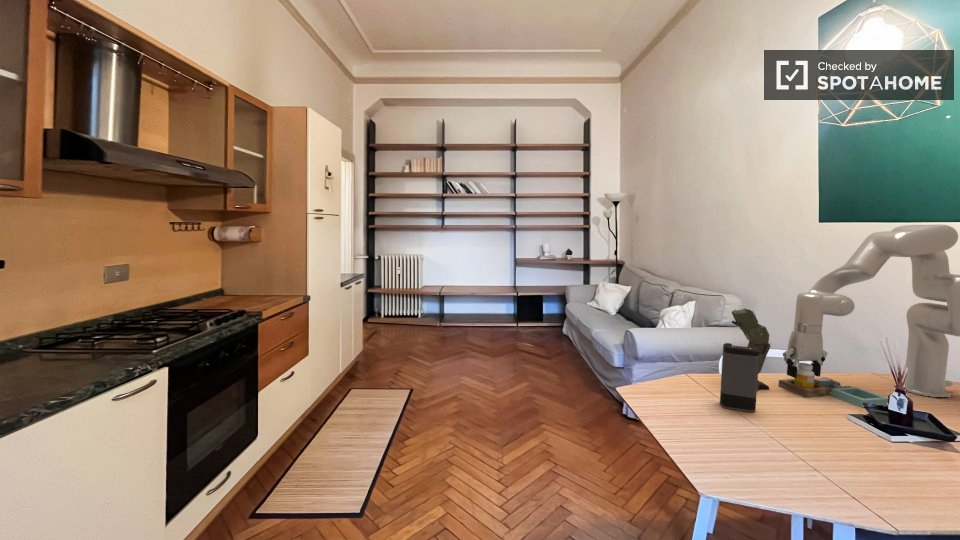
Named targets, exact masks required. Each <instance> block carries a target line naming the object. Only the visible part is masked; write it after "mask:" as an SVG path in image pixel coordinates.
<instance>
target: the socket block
mask: <svg viewBox="0 0 960 540" xmlns="http://www.w3.org/2000/svg"><path fill="white" fill-rule="evenodd" d="M794 379H795V378H789V379H787V378H786V379H778V388H781V389H783V390H785V391H788V392H790V393H793V394H795V395H798V396H800V397H803V398H806V399H807V398H819V397H831V392H830V389H829V388H827V387H824V386H821V385H819V384H816V383H814V388H806V389H805V388H802V387H800V386H797V385H795V384H794Z"/></svg>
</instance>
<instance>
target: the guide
mask: <svg viewBox="0 0 960 540" xmlns="http://www.w3.org/2000/svg"><path fill="white" fill-rule="evenodd" d="M848 387H853V386H851V385H841V382H840V381H837V387H827V388H829V389H830V393H831V389H834V388H848Z"/></svg>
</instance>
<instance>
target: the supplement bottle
mask: <svg viewBox="0 0 960 540" xmlns="http://www.w3.org/2000/svg"><path fill="white" fill-rule="evenodd" d="M812 369H813V366H812V365H811V363H807V362H806V363H805V362H799V363H798V364H797V377H796V378H793V379H794V384H795V385H797V386H800V387H802V388H805V389H806V388H814V379H815V377H816V376H815V374H814V372H813V371H811V370H812Z"/></svg>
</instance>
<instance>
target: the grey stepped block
mask: <svg viewBox="0 0 960 540" xmlns="http://www.w3.org/2000/svg"><path fill="white" fill-rule="evenodd" d="M837 382H838V380H836V379H832V378H829V377H826V376H822V377H819V378H814V383H816V384H819V385H821V386H824V387H837Z"/></svg>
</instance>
